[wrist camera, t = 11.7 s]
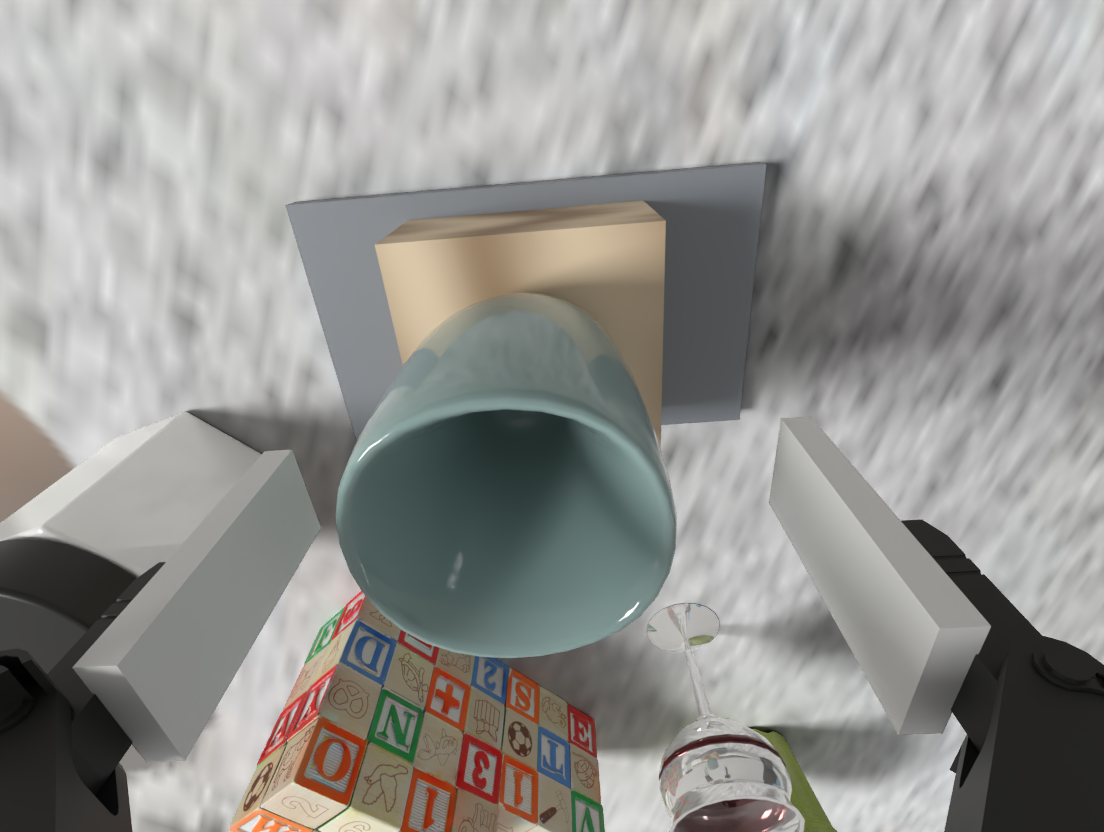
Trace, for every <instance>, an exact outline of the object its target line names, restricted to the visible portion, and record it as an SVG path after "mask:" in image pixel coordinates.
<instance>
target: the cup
mask: <svg viewBox="0 0 1104 832" xmlns="http://www.w3.org/2000/svg"><path fill="white" fill-rule="evenodd" d="M335 519H336V525H337V532H338V538H339V544H340V547H341V549H342V552H343V555H344V557H345V560H346V562H347V565H348V568H349V570H350V572H351V574H352V576H353V577H354V579H355V580H356V582H357V584H358V585H359V587H360V589H361V590H362V592H363V593H364V595H365V596H366V597H367V598H368V599H369V600H370V602H371V603H372V604H373V605H374V606H375V607H376V608H377V609H378V610H379V612H380V613H381V614H382V615H383V616H385V617H386V618H387V619H389V620H390V621H391V622H392V623H394V624H395V625H396V626H398V627H399V628H400V629H401V630H403V631H404V632H406V633H408V634H410V635H412V636H414V637H416V638H417V639H419V640H421V641H423V642H425V643H427V644H430V645H433V646H436V647H439V648H442V649H445V650H448V651H451V652H455V653H461V654H467V655H473V656H479V657H494V658H521V657H536V656H543V655H549V654H554V653H560V652H565V651H570V650H573V649H576V648H579V647H582V646H586V645H589V644H592V643H595V642H597V641H599V640H601V639H604V638H606V637H608V636H610V635H612V634H614V633H616V632H618V631H620V630H621V629H623V628H624V627H626V626H627V625H628V624H630V623H631V622H633V621H634V620H635V619H637V618H638V617H639V616H641V614H642V613H643V612H644V611H645V610H646V609H647V608H648V606H649V605H650V604H651V603H652V602H653V601H654V600H655V598H656V597H657V596H658V594H659V592H660V590H661V588H662V586H663V584H664V583H665V581H666V579H667V577H668V575H669V573H670V569H671V565H672V561H673V557H674V554H675V550H676V510H675V504H674V499H673V494H672V489H671V484H670V479H669V475H668V471H667V468H666V464H665V461H664V458H663V455H662V452H661V448H660V446H659V443H658V440H657V437H656V434H655V431H654V428H653V425H652V422H651V419H650V416H649V414H648V411H647V408H646V405H645V403H644V400H643V398H642V395H641V393H640V391H639V388H638V386H637V384H636V381H635V379H634V377H633V374H632V372H631V370H630V368H629V365H628V363H627V361H626V359H625V357H624V356H623V354H622V352H621V350H620V349H619V348H618V346H617V345H616V343H615V342H614V341H613V339H612V338H611V336H610V335H609V334H608V332H607V331H606V330H605V328H604V327H603V326H602V325H601V324H600V323H599V322H598V321H596V320H595V319H594V318H593V317H592V316H591V315H590V314H588V313H587V312H586V311H585V310H584V309H582V308H580V307H578V306H576V305H574V304H572V303H570V302H568V301H566V300H564V299H561V298H557V297H553V296H549V295H546V294H536V293H512V294H502V295H497V296H494V297H490V298H486V299H483V300H479V301H477V302H475V303H473V304H471V305H469V306H467V307H464V308H462V309H460V310H458V311H456V312H455V313H453V314H452V315H451V316H449V317H448V318H447V319H445V320H444V321H443V322H441V323H440V324H439V325H437V326H436V327H435V328H434V329H433V330H432V331H430V333H429V334H428V335H427V336H426V337H425V338H424V339H423V341H422V342H421V343H420V344H419V345H418V347H417V348H416V349H415V350H414V352H413V353H412V354H411V355H410V356H409V358H408V359H407V360H406V362H405V363H404V364H403V366H402V367H401V368H400V370H399V371H398V373H397V374H396V376H395V377H394V379H393V381H392V382H391V384H390V385H389V387H388V389H387V390H386V392H385V393H384V395H383V397H382V399H381V400H380V402H379V404H378V405H377V407H376V409H375V410H374V412H373V414H372V415H371V417H370V419H369V421H368V422H367V424H366V426H365V428H364V429H363V431H362V433H361V435H360V437H359V439H358V440H357V442H356V444H355V446H354V449H353V451H352V453H351V456H350V458H349V461H348V463H347V466H346V468H345V470H344V473H343V475H342V478H341V480H340V483H339V488H338V495H337V505H336V515H335Z"/></svg>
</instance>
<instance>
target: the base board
mask: <svg viewBox="0 0 1104 832" xmlns="http://www.w3.org/2000/svg"><path fill="white" fill-rule="evenodd" d="M765 173H766V164H764V163H759V162H756V163H744V164H732V165H721V166H709V167H697V168H686V169H674V170H662V171H651V172H639V173H627V174H616V175H604V176H592V177H581V178H569V179H558V180H546V181H534V182H523V183H511V184H499V185H488V186H476V187H464V188H453V189H441V190H429V191H418V192H406V193H394V194H383V195H371V196H359V197H348V198H336V199H324V200H313V201H301V202H294V203H291V204H288V205H286V208H287V212H288V215H289V218H290V222H291V225H292V228H293V232H294V235H295V238H296V242H297V245H298V248H299V252H300V255H301V258H302V262H303V265H304V268H305V272H306V275H307V278H308V281H309V285H310V288H311V291H312V295H313V298H314V301H315V305H316V308H317V311H318V315H319V318H320V321H321V325H322V328H323V331H324V335H325V338H326V341H327V345H328V348H329V351H330V355H331V358H332V361H333V365H334V368H335V371H336V375H337V378H338V381H339V384H340V388H341V391H342V394H343V398H344V401H345V404H346V408H347V411H348V414H349V418H350V421H351V424H352V428H353V431H354V434H355V438H356V441H357V440H358V439H359V437H360V435H361V433H362V431H363V429H364V428H365V426H366V424H367V422H368V421H369V419H370V417H371V415H372V414H373V412H374V410H375V409H376V407H377V405H378V404H379V402H380V400H381V399H382V397H383V395H384V393H385V392H386V390H387V389H388V387H389V385H390V384H391V382H392V381H393V379H394V377H395V376H396V374H397V373H398V371H399V370H400V368H401V367H402V366H403V365H402V360H401V356H400V352H399V347H398V343H397V339H396V334H395V330H394V326H393V322H392V317H391V313H390V309H389V304H388V300H387V296H386V292H385V287H384V283H383V279H382V274H381V270H380V266H379V261H378V257H377V253H376V249H375V244H376V243H378V242H379V241H380V240H382V239H383V238H385V237H386V236H387V235H389V234H390V233H391V232H393V231H394V230H395V229H397V228H398V227H400V226H401V225H402V224H404V223H405V222H406V221H408V220H418V219H430V218H442V217H454V216H466V215H478V214H489V213H501V212H513V211H525V210H537V209H549V208H561V207H573V206H585V205H597V204H608V203H620V202H632V201H644V202H645V203H647V204H648V205H649V206H650V207H651V208H652V209H653V210H654V211H656V212H657V213H658V214H659V215H660V216H661V217H662V218H663V219H665V220H666V235H665V277H664V320H663V362H662V404H661V425H668V424H682V423H697V422H711V421H726V420H739V419H740V410H741V400H742V391H743V381H744V372H745V362H746V353H747V343H748V334H749V324H750V315H751V306H752V296H753V287H754V277H755V268H756V258H757V249H758V239H759V230H760V220H761V211H762V201H763V192H764V182H765Z"/></svg>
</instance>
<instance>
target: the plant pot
mask: <svg viewBox="0 0 1104 832" xmlns="http://www.w3.org/2000/svg"><path fill="white" fill-rule="evenodd" d="M752 730H754V731H756V732H758V733H759V734H761V735H762V736H764V737H765V738H767V740H768V741H769V742H770V743H771V745H772V746H773V747H774V748H775V749H776V750H777V752H778V753H779V755H780V756H781V758H782V760H783V761H784V763H785V765H786V769H787V771H788V773H789V775H790V779H791V786H792V796H791V803H792V805H793V806H794V807H796V808H797V809H798V810H799V812H800V813H801V815H802V816H803V818H804V820H805V823H804V831H803V832H837V831H836V830H835V829H834V828H833V827H832V825H831V823H830V821H829V820H828V818H827V816H826V814H825V812H824V811H823V809H822V807H821V805H820V803H819V801H818V800H817V798H816V796H815V794H814V792H813V790H812V789H811V787H810V785H809V783H808V781H807V779H806V777H805V776H804V774H803V772H802V770H801V768H800V766H799V764H798V762H797V760H796V758H795V756H794V755H793V753H792V751H791V749H790V747H789V745H788V743H787V741H786V740H785V738H784V737H783V736H781V735H780V734H778V733H776V732H774V731H772V732H770V733H765V732H762V731H759V730H757V729H752Z"/></svg>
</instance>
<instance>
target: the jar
mask: <svg viewBox="0 0 1104 832" xmlns="http://www.w3.org/2000/svg"><path fill="white" fill-rule="evenodd" d="M261 455H262V454H261V453H259V452H257V451H255V450H253V449H252V448H250V447H248V446H246V445H245V444H243V443H241V442H239V441H237V440H236V439H234V438H232V437H230V436H229V435H227V434H225V433H223V432H222V431H220V430H218V429H216V428H214V427H213V426H211V425H209V424H207V423H206V422H204V421H202V420H200V419H198V418H197V417H195V416H193V415H191V414H190V413H187V412H182V413H179V414H176V415H174V416H171V417H168V418H166V419H163V420H160V421H158V422H155V423H153V424H150V425H147V426H145V427H142V428H139V429H137V430H134V431H131V432H129V433H126V434H123V435H121V436H118V437H116V438H115V439H113V440H112V441H111V442H109V443H108V444H107V445H105V446H104V447H103V448H101V449H100V450H99V451H97V452H96V453H95V454H93V455H92V456H91V457H89V458H88V459H86V460H85V461H84V462H82V463H81V464H80V465H78V466H77V467H76V468H74V469H73V470H72V471H70V472H69V473H68V474H66V475H65V476H64V477H62V478H61V479H60V480H58V481H57V482H56V483H54V484H53V485H51V486H50V487H49V488H47V489H46V490H45V491H43V492H42V493H41V494H39V495H38V496H37V497H35V498H34V499H32V500H31V501H30V502H28V503H27V504H26V505H24V506H23V507H22V508H20V509H19V510H18V511H16V512H15V513H14V514H12V515H11V516H9V517H8V518H7V519H5V520H4V521H3V522H1V523H0V651H3V650H10V649H21V650H25V651H28V652H29V653H30V655H31V656H32V657H33V658H34V659H35V661H36V662H37V663H38V664H39V665H40V667H41V668H42V669H43V670H44V672H45V673H46V674H48V673H49V672H50V671H51V670H52V669H53V667H54V666H55V665H56V664H57V663H58V662H59V661H60V660H61V659H62V658H63V657H64V656H65V654H66V653H67V652H68V651H69V650H70V649H71V648H72V647H73V646H74V645H75V644H76V643H77V641H78V640H79V639H80V638H81V637H82V636H83V635H84V634H85V633H86V632H87V631H88V630H89V629H90V627H91V626H92V625H93V624H94V623H95V622H96V621H97V620H101V618H102V614H103V613H104V612H105V611H106V610H107V609H108V608H109V607H110V606H111V605H112V604H113V603H116V602H117V600H116V599H117V598H118V597H119V596H120V595H121V594H122V593H123V592H124V591H125V590H126V588H127V587H128V586H129V585H130V584H131V583H132V582H133V581H134V580H135V579H136V578H138V577H139V576H141V575H142V574H143V573H145V572H146V571H148V570H149V569H150V568H152V567H153V566H155V565H156V564H157V563H159V562H167V561H168V559H169V558H170V557H171V556H172V555H173V554H174V553H175V552H176V550H177V549H178V548H179V547H180V546H181V545H182V544H183V543H184V541H185V540H186V539H187V538H188V537H189V536H190V535H191V534H192V532H193V531H194V530H195V529H196V528H197V527H198V526H199V525H200V523H201V522H202V521H203V520H204V519H205V518H206V517H207V516H208V514H209V513H210V512H211V511H212V510H213V509H214V508H215V507H216V505H217V504H218V503H219V502H220V501H221V500H222V499H223V498H224V496H225V495H226V494H227V493H228V492H229V491H230V490H231V489H232V488H233V486H234V485H235V484H236V483H237V482H238V481H239V480H240V479H241V477H242V476H243V475H244V474H245V473H246V472H247V471H248V470H249V468H250V467H251V466H252V465H253V464H254V463H255V462H256V461H257V459H258V458H259V457H260V456H261Z"/></svg>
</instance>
